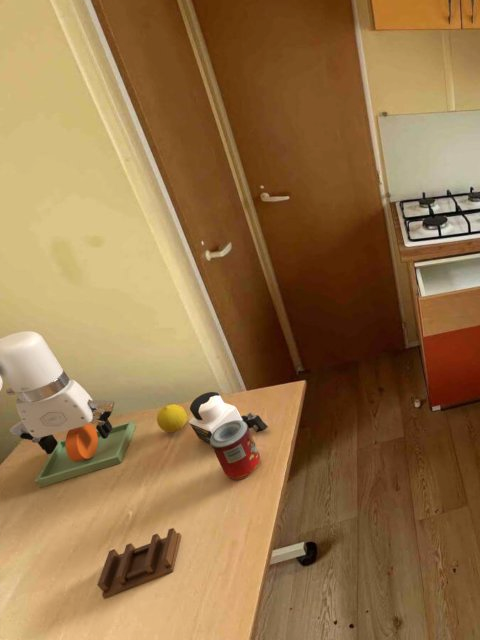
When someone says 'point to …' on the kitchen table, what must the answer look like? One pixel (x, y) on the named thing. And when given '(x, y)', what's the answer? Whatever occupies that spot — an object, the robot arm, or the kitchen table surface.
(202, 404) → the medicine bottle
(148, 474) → the kitchen table surface
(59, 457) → the tray
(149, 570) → the rack
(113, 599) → the kitchen table surface
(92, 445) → the disc
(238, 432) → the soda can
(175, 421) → the lemon
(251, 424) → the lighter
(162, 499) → the kitchen table surface
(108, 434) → the robot arm
